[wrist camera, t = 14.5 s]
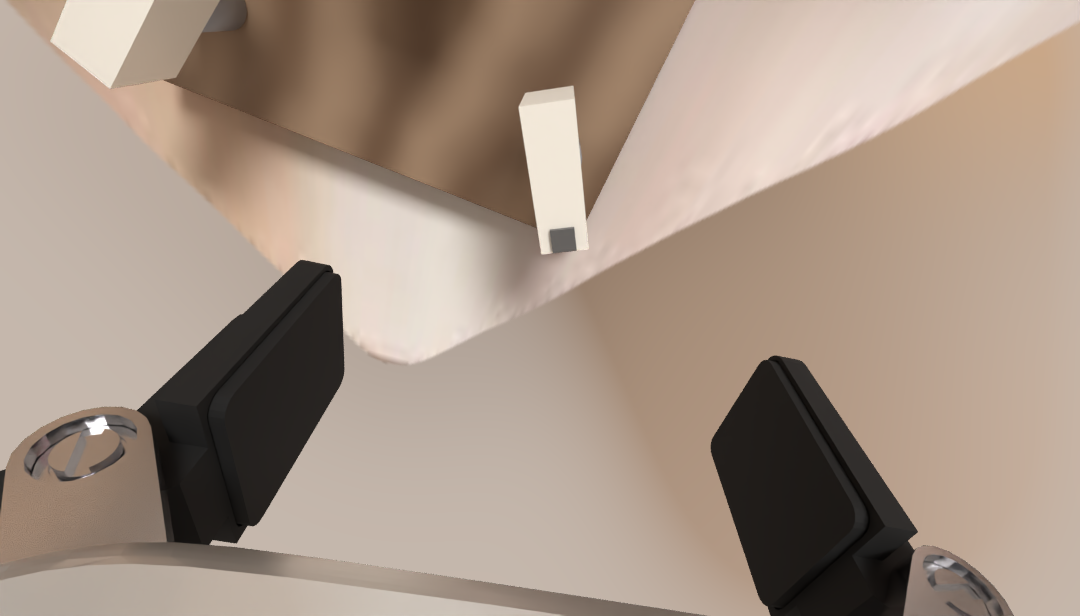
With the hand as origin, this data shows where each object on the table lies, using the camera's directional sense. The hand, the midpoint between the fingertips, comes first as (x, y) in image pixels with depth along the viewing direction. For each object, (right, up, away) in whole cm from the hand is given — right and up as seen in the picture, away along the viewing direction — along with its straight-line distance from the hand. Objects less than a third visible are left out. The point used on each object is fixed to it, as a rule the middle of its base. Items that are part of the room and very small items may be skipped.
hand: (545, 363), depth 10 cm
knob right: (+1, +11, +17) cm, 20 cm away
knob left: (-17, +17, +14) cm, 27 cm away
